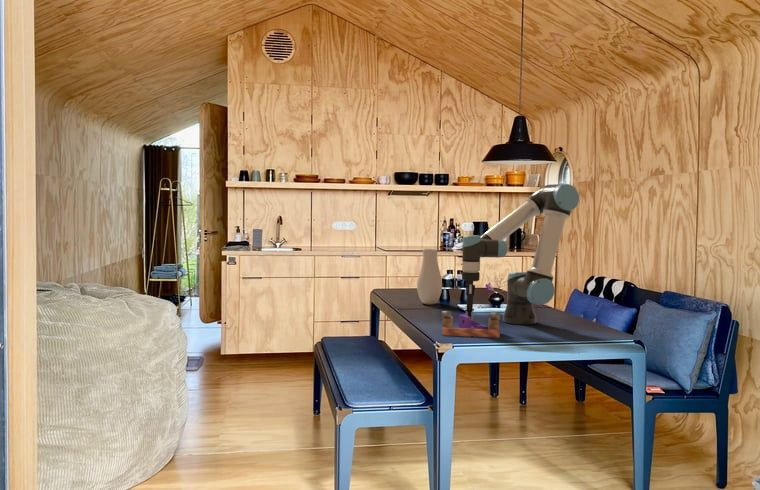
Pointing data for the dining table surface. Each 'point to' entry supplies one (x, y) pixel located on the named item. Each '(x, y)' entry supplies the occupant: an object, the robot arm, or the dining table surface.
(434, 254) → the vase
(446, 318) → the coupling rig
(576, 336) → the dining table surface
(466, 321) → the bracket
